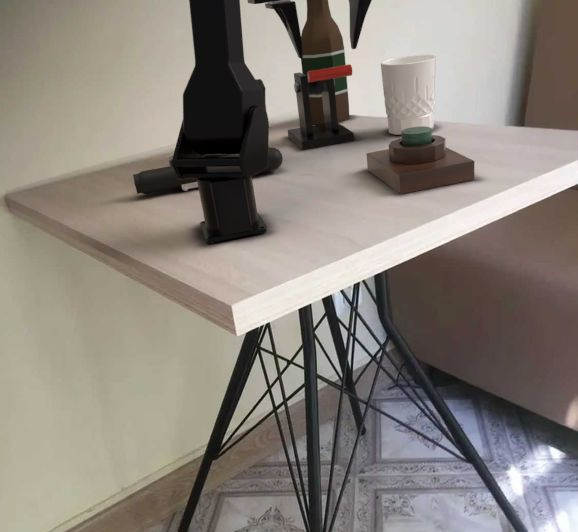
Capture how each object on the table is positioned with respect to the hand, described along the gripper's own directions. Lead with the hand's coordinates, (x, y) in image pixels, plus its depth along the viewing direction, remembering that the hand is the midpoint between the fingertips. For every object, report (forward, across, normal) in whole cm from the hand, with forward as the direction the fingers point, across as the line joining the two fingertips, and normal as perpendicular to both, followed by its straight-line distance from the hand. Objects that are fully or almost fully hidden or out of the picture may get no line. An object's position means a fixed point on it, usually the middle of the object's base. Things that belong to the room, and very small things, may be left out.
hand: (327, 53), depth 93 cm
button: (+10, -5, +18) cm, 21 cm away
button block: (+13, -5, +18) cm, 23 cm away
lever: (+5, 0, -5) cm, 7 cm away
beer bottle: (+14, -5, -22) cm, 27 cm away
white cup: (+13, -13, -4) cm, 19 cm away
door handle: (+13, +19, -1) cm, 23 cm away
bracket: (+13, 0, -10) cm, 16 cm away
